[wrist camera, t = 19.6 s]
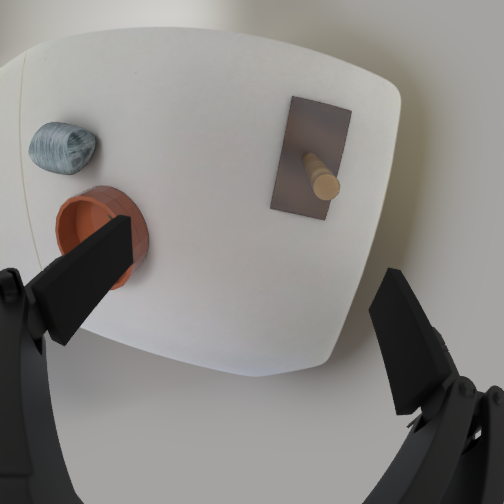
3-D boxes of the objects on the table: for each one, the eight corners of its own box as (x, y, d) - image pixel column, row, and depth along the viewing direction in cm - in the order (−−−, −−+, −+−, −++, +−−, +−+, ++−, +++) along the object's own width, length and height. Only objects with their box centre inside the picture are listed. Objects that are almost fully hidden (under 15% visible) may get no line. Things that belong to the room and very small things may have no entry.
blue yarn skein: (99, 118, 32) (46, 154, 26) (107, 165, 40) (63, 200, 34) (61, 102, 34) (17, 131, 28) (70, 142, 41) (31, 171, 36)
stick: (304, 150, 33) (316, 171, 20) (320, 154, 33) (343, 177, 20) (301, 166, 34) (310, 197, 21) (316, 170, 34) (336, 203, 21)
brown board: (292, 97, 31) (292, 96, 30) (349, 111, 31) (352, 111, 30) (270, 205, 39) (270, 208, 38) (323, 216, 39) (325, 220, 38)
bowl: (71, 181, 41) (50, 191, 35) (149, 191, 40) (130, 203, 35) (80, 262, 49) (64, 276, 44) (150, 282, 49) (136, 300, 43)
